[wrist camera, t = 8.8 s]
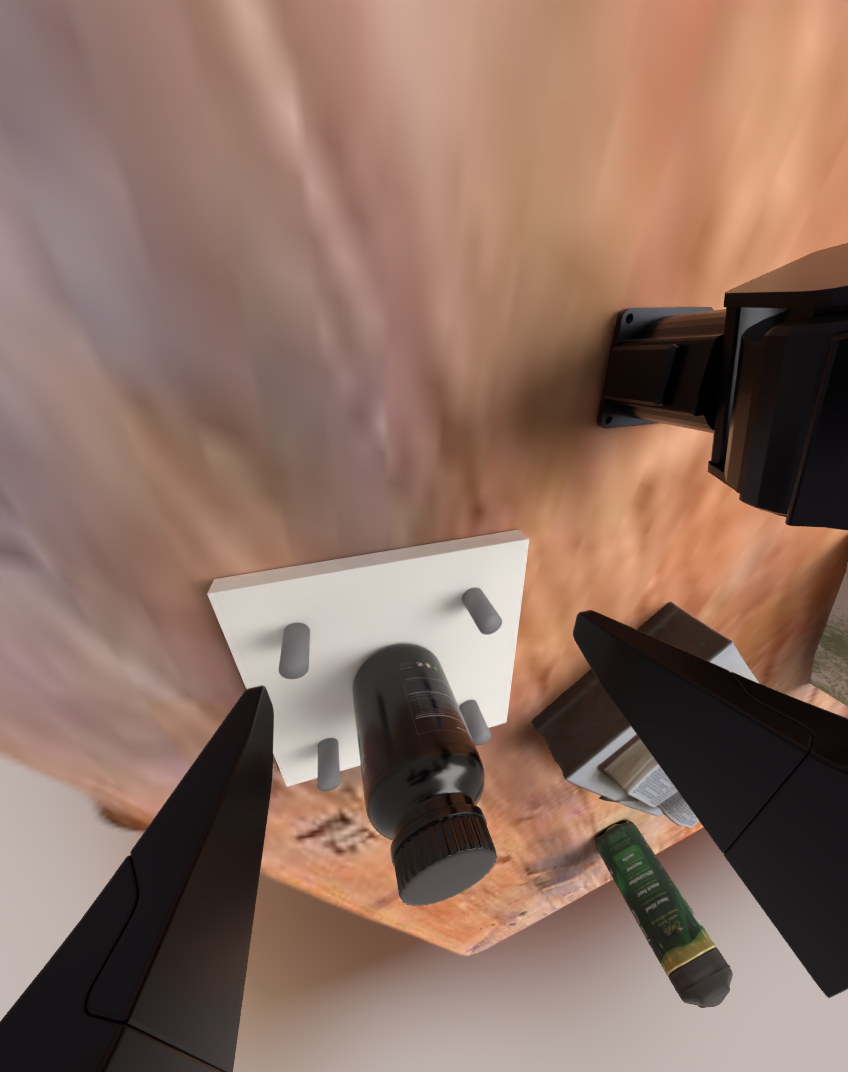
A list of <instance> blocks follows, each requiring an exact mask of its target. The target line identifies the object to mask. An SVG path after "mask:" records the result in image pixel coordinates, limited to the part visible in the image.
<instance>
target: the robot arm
mask: <svg viewBox="0 0 848 1072" xmlns="http://www.w3.org/2000/svg"><path fill="white" fill-rule="evenodd" d="M724 307H726V309H724V310H715V311H714V310H713V309H712V308H711V307H679V308H629V309H624V310H622V311H621V312H620V313H619V315H618V317H617V321H616V326H615V331H614V337H613V342H612V347H611V352H610V357H609V362H608V367H607V373H606V378H605V383H604V388H603V393H602V398H601V403H600V408H599V414H598V419H597V424H598V426H599V427H602V428H615V427H625V426H635V425H645V424H655V423H664V424H669V425H674V426H679V427H684V428H690V429H695V430H700V431H705V432H710V433H714V436H713V446H712V456H711V461H709V464H708V472H709V473H711V474H712V475H714V476H715V477H717V478H718V479H720V480H721V481H722V482H724V483H725V484H727V485H728V486H730V487H731V488H733V489H734V490H735V491H736V492H738V493H739V494H740V496H739V500H741V501H742V502H744V503H746V504H748V505H751V506H753V507H755V508H758V509H760V510H764V511H768V512H771V513H774V514H777V515H780V516H784V517H786V521H785V523H786V524H787V525H790V526H809V527H827V528H834V529H842V530H848V243H846V244H843V245H839V246H835V247H831V248H827V249H823V250H820V251H817V252H814V253H811V254H809V255H807V256H805V257H802V258H800V259H798V260H796V261H793V262H791V263H789V264H787V265H785V266H782V267H780V268H778V269H776V270H773V271H771V272H769V273H767V274H765V275H762V276H760V277H758V278H756V279H753V280H751V281H749V282H747V283H744V284H742V285H740V286H738V287H736V288H733V289H731V290H729V291H727V292H725V298H724ZM627 316H628V320H627V322H626V317H627ZM606 418H607V421H606V422H605V419H606ZM573 636H574V639H575V641H576V643H577V645H578V646H579V648H580V650H581V651H582V653H583V655H584V657H585V658H586V660H587V662H588V663H589V665H590V667H591V668H592V670H593V672H594V674H595V675H596V677H597V679H598V680H599V682H600V683H601V685H602V686H603V688H604V689H605V691H606V692H607V694H608V695H609V696H610V698H611V699H612V701H613V702H614V703H615V705H616V706H617V708H618V709H619V710H620V712H621V713H622V714H623V716H624V717H625V719H626V720H627V721H628V723H629V724H630V726H631V727H632V728H633V730H634V731H635V732H636V734H637V735H638V737H639V738H640V739H641V741H642V742H643V744H644V745H645V746H646V748H647V749H648V750H649V752H650V753H651V755H652V756H653V757H654V759H655V760H656V762H657V763H658V764H659V766H660V767H661V768H662V770H663V771H664V773H665V774H666V775H667V777H668V778H669V780H670V781H671V782H672V784H673V785H674V787H675V788H676V789H677V791H678V792H679V793H680V795H681V796H682V798H683V799H684V800H685V802H686V803H687V805H688V806H689V807H690V809H691V810H692V811H693V813H694V814H695V816H696V817H697V818H698V820H699V821H700V823H701V824H702V825H703V827H704V828H705V829H706V830H707V832H708V834H709V835H710V836H711V838H712V839H713V840H714V842H715V843H716V845H717V846H718V848H719V849H720V850H721V852H722V853H724V856H725V858H726V859H727V860H728V861H729V863H730V864H731V866H732V867H733V868H734V870H735V871H736V873H737V874H738V876H739V877H740V878H741V880H742V881H743V882H744V884H745V885H746V887H747V888H748V889H749V891H750V892H751V894H752V895H753V896H754V897H755V899H756V900H757V902H758V903H759V905H760V906H761V907H762V909H763V910H764V911H765V913H766V914H767V916H768V917H769V919H770V920H771V921H772V923H773V924H774V925H775V927H776V928H777V929H778V931H779V932H780V934H781V935H782V937H783V938H784V939H785V941H786V942H787V943H788V945H789V946H790V947H791V949H792V950H793V952H794V953H795V955H796V956H797V957H798V959H799V960H800V961H801V963H802V964H803V966H804V967H805V968H806V970H807V971H808V973H809V974H810V975H811V977H812V978H813V980H814V981H815V982H816V983H817V985H818V986H819V987H820V988H821V990H822V991H823V992H824V993H825V995H826V996H827V997H828V998H830V997H832V996H835V995H837V994H839V993H841V992H843V991H845V990H847V989H848V719H847V718H845V717H842V716H840V715H837V714H834V713H832V712H829V711H827V710H824V709H821V708H819V707H816V706H814V705H811V704H808V703H806V702H803V701H801V700H798V699H796V698H793V697H791V696H788V695H786V694H783V693H781V692H778V691H775V690H773V689H771V688H768V687H766V686H764V685H761V684H759V683H757V682H754V681H752V680H750V679H747V678H745V677H743V676H741V675H738V674H736V673H734V672H729V670H727V669H725V668H722V667H720V666H718V665H715V664H713V663H711V662H709V661H706V660H704V659H702V658H700V657H697V656H695V655H693V654H690V653H688V652H686V651H684V650H681V649H679V648H677V647H675V646H672V645H670V644H668V643H665V642H663V641H661V640H659V639H656V638H654V637H652V636H650V635H647V634H645V633H643V632H641V631H638V630H636V629H634V628H631V627H629V626H627V625H625V624H622V623H620V622H618V621H616V620H613V619H611V618H609V617H606V616H604V615H602V614H600V613H597V612H595V611H592V610H588V611H583V612H580V613H578V615H577V617H576V622H575V626H574V631H573ZM273 732H274V709H273V705H272V702H271V700H270V697H269V694H268V691H267V689H266V687H265V686H263V685H261V686H256V687H252V688H248V689H247V690H246V691H245V692H244V693H243V694H242V696H241V697H240V699H239V700H238V701H237V703H236V704H235V706H234V707H233V708H232V710H231V711H230V713H229V714H228V715H227V717H226V718H225V720H224V721H223V722H222V724H221V725H220V727H219V728H218V730H217V731H216V732H215V734H214V735H213V737H212V738H211V739H210V741H209V742H208V744H207V745H206V746H205V748H204V749H203V751H202V752H201V753H200V755H199V756H198V758H197V759H196V760H195V762H194V763H193V765H192V766H191V767H190V769H189V770H188V772H187V773H186V774H185V776H184V777H183V779H182V780H181V781H180V783H179V784H178V786H177V787H176V788H175V790H174V791H173V793H172V794H171V795H170V797H169V798H168V800H167V801H166V803H165V804H164V805H163V807H162V808H161V810H160V811H159V812H158V814H157V815H156V817H155V818H154V819H153V821H152V822H151V824H150V825H149V826H148V828H147V829H146V831H145V832H144V833H143V835H142V836H141V838H140V839H139V840H138V842H137V843H136V845H135V846H134V847H133V849H132V851H131V856H127V857H126V858H125V860H124V861H123V863H122V864H121V865H120V867H119V868H118V870H117V871H116V872H115V874H114V876H113V877H112V878H111V879H110V881H109V882H108V884H107V885H106V886H105V888H104V889H103V890H102V892H101V893H100V894H99V896H98V897H97V899H96V900H95V901H94V903H93V904H92V906H91V907H90V908H89V910H88V911H87V912H86V913H85V915H84V916H83V918H82V919H81V920H80V922H79V923H78V924H77V925H76V927H75V928H74V929H73V931H72V932H71V933H70V934H69V936H68V937H67V938H66V940H65V941H64V942H63V944H62V945H61V946H60V947H59V949H58V950H57V951H56V952H55V954H54V955H53V956H52V957H51V959H50V960H49V961H48V963H47V964H46V965H45V966H44V968H43V969H42V970H41V971H40V973H39V974H38V975H37V977H36V978H35V979H34V980H33V981H32V983H31V984H30V985H29V986H28V988H27V989H26V990H25V991H24V993H23V994H22V995H21V996H20V998H19V999H18V1000H17V1002H16V1003H15V1004H14V1005H13V1006H12V1008H11V1009H10V1010H9V1011H8V1013H7V1014H6V1015H5V1016H4V1018H3V1019H2V1020H1V1021H0V1072H233V1066H234V1059H235V1051H236V1044H237V1037H238V1030H239V1022H240V1015H241V1007H242V1000H243V992H244V985H245V977H246V971H247V963H248V956H249V948H250V941H251V934H252V925H253V919H254V911H255V904H256V896H257V889H258V882H259V875H260V867H261V860H262V852H263V845H264V838H265V830H266V823H267V816H268V808H269V801H270V793H271V785H272V770H273Z"/></svg>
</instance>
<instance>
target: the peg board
mask: <svg viewBox="0 0 848 1072" xmlns="http://www.w3.org/2000/svg"><path fill="white" fill-rule="evenodd" d="M528 545H529V538H528V537H527V536H525V535H524V534H523V533H522V532H521V531H520V530H512V531H506V532H500V533H494V534H488V535H481V536H475V537H469V538H463V539H457V540H451V541H445V542H438V543H432V544H426V545H420V546H414V547H408V548H402V549H396V550H389V551H383V552H377V553H371V554H365V555H359V556H353V557H346V558H340V559H334V560H328V561H322V562H316V563H310V564H304V565H297V566H291V567H285V568H279V569H273V570H267V571H261V572H254V573H248V574H242V575H236V576H230V577H224V578H218V579H214V581H213V583H212V585H211V587H210V589H209V591H208V593H207V595H208V597H209V599H210V602H211V604H212V607H213V609H214V611H215V614H216V616H217V619H218V621H219V624H220V626H221V628H222V631H223V633H224V636H225V638H226V640H227V643H228V645H229V648H230V650H231V653H232V655H233V657H234V660H235V662H236V665H237V667H238V670H239V672H240V674H241V677H242V679H243V682H244V684H245V686H246V689H248V688H252V687H256V686H261V685H263V686H265V687H266V689H267V691H268V694H269V697H270V700H271V702H272V705H273V709H274V732H273V754H274V757H275V759H276V762H277V764H278V766H279V769H280V771H281V774H282V776H283V778H284V781H285V783H286V786H287V787H288V786H291V785H294V784H298V783H301V782H305V781H308V780H311V779H315V778H318V786H317V787H318V789H319V790H321V791H330V790H333V789H335V788H336V787H338V786H339V784H340V771H342V770H346V769H349V768H352V767H356V766H359V765H361V764H360V755H359V747H358V738H357V730H356V721H355V712H354V703H353V692H352V687H353V681H354V678H355V675H356V673H357V671H358V670H359V668H360V667H361V666H362V664H363V663H364V662H365V661H366V660H367V659H368V658H370V657H371V656H372V655H374V654H375V653H377V652H379V651H381V650H383V649H385V648H388V647H391V646H395V645H401V644H413V645H418V646H421V647H424V648H426V649H428V650H430V651H431V652H432V653H433V654H434V655H435V656H436V657H437V658H438V660H439V662H440V664H441V666H442V668H443V671H444V673H445V675H446V677H447V680H448V682H449V685H450V687H451V689H452V692H453V694H454V697H455V699H456V701H457V704H458V706H459V708H460V711H461V713H462V716H463V718H464V720H465V723H466V725H467V728H468V730H469V732H470V735H471V737H472V739H473V742H474V744H475V745H482V744H484V743H486V742H488V741H489V740H490V738H491V733H490V731H489V727H493V726H496V725H499V724H503V723H506V722H507V714H508V706H509V698H510V690H511V682H512V674H513V666H514V658H515V650H516V642H517V634H518V626H519V618H520V610H521V602H522V594H523V586H524V577H525V569H526V561H527V553H528Z"/></svg>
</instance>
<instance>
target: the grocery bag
mask: <svg viewBox="0 0 848 1072" xmlns="http://www.w3.org/2000/svg"><path fill="white" fill-rule="evenodd" d="M810 683H811V684H812V685H814V686H816V687H817V688H819V689H820V690H822V691H824V692H825V693H827V694H828V695H830V696H832V697H833V698H835V699H836V700H838V701H840V702H841V703H843V704H845V705H846V706H848V564H847V570H846V573H845V576H844V578H843V581H842V584H841V586H840V589H839V592H838V594H837V597H836V600H835V602H834V605H833V607H832V610H831V613H830V615H829V618H828V621H827V623H826V626H825V629H824V631H823V634H822V637H821V639H820V642H819V644H818V647H817V650H816V652H815V655H814V661H813V667H812V674H811V680H810Z"/></svg>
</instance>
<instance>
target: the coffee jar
mask: <svg viewBox="0 0 848 1072" xmlns="http://www.w3.org/2000/svg"><path fill="white" fill-rule="evenodd" d="M596 845H597V849H598V852H599V853H600V855H601V857H602V859H603V861H604V863H605V865H606V866H607V868H608V870H609V872H610V874H611V875H612V877H613V879H614V881H615V882H616V884H617V886H618V888H619V890H620V892H621V893H622V895H623V897H624V899H625V901H626V903H627V905H628V906H629V908H630V910H631V912H632V914H633V915H634V917H635V919H636V921H637V923H638V925H639V926H640V928H641V930H642V932H643V934H644V935H645V937H646V939H647V941H648V942H649V944H650V946H651V948H652V949H653V951H654V953H655V955H656V957H657V958H658V960H659V962H660V964H661V965H662V967H663V969H664V971H665V972H666V974H667V976H668V977H669V979H670V981H671V983H672V984H673V986H674V988H675V990H676V991H677V993H678V994H679V996H680V998H681V999H682V1000H683V1001H684V1002H685V1003H689V1004H694V1005H698V1006H699V1007H701V1008H705V1007H714V1006H717V1005H719V1004H720V1003H721V1002H722V1001H723V1000H724V998H725V997H726V995H727V994H728V993H729V991H730V988H729V985H730V982H731V979H732V971H731V969H730V966H729V965H728V964H727V963H726V961H725V959H724V958H723V956H722V955H721V953H720V952H719V950H718V949H717V948H716V946H715V944H714V943H713V941H712V940H711V938H710V937H709V935H708V934H707V932H706V931H705V929H704V928H703V926H702V925H701V923H700V922H699V920H698V919H697V917H696V916H695V914H694V913H693V911H692V910H691V908H690V907H689V905H688V904H687V902H686V901H685V899H684V898H683V896H682V895H681V893H680V892H679V890H678V889H677V887H676V886H675V884H674V883H673V881H672V880H671V878H670V877H669V875H668V874H667V872H666V871H665V869H664V868H663V866H662V865H661V863H660V862H659V860H658V859H657V857H656V856H655V854H654V853H653V851H652V849H651V848H650V846H649V845H648V843H647V842H646V840H645V839H644V837H643V836H642V834H641V833H640V831H639V830H638V828H637V827H636V825H635V824H634V823H632V822H631V821H627V822H625V823H622V824H615V825H613V826H611V827H609V828H608V829H607V830H606V832H605V833H604V834H603V835H602V836H599V837H598V838H597V840H596Z"/></svg>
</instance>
